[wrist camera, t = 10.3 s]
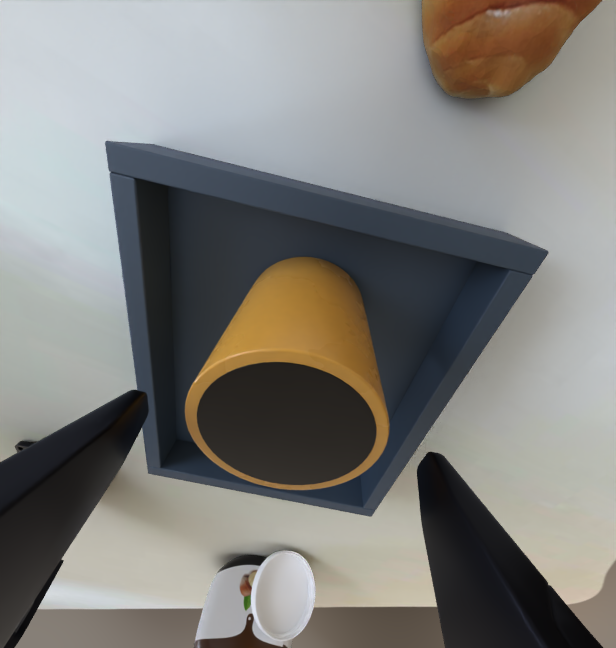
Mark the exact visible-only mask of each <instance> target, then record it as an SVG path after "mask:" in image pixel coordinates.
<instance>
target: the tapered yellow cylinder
mask: <svg viewBox="0 0 616 648" xmlns="http://www.w3.org/2000/svg"><path fill="white" fill-rule="evenodd" d="M185 418H186V423H187V427H188V430H189V432H190V434H191V436H192V438H193V440H194V441H195V443H196V444H197V446H198V447H199V448H200V449H201V451H202V452H203V453H204V454H205V455H206V456H207V457H208V458H209V459H210V460H212V461H213V462H214V463H216V464H217V465H218V466H220V467H221V468H223V469H224V470H226V471H228V472H229V473H231V474H233V475H235V476H237V477H239V478H242V479H244V480H247V481H249V482H253V483H256V484H259V485H263V486H267V487H272V488H278V489H287V490H313V489H321V488H327V487H331V486H335V485H338V484H341V483H344V482H347V481H349V480H351V479H353V478H355V477H357V476H359V475H360V474H362V473H364V472H365V471H366V470H368V469H369V468H370V467H371V466H372V465H373V464H374V463H375V462H376V461H377V460H378V459H379V457H380V456H381V454H382V453H383V451H384V449H385V447H386V444H387V441H388V437H389V428H390V424H389V417H388V412H387V407H386V403H385V398H384V394H383V389H382V385H381V380H380V376H379V371H378V366H377V362H376V357H375V353H374V348H373V344H372V339H371V335H370V330H369V326H368V321H367V317H366V312H365V308H364V303H363V299H362V296H361V293H360V290H359V288H358V286H357V285H356V283H355V282H354V280H353V279H352V278H351V277H350V276H349V275H348V274H347V273H346V272H345V271H344V270H342V269H341V268H340V267H338V266H336V265H335V264H333V263H330V262H328V261H326V260H322V259H319V258H313V257H293V258H289V259H285V260H282V261H280V262H277V263H275V264H274V265H272V266H270V267H269V268H267V269H266V270H265V271H264V272H263V273H262V274H261V275H260V276H259V277H258V279H257V280H256V281H255V283H254V284H253V286H252V288H251V289H250V291H249V293H248V294H247V296H246V297H245V299H244V301H243V302H242V304H241V306H240V307H239V309H238V311H237V312H236V314H235V315H234V317H233V319H232V320H231V322H230V324H229V325H228V327H227V328H226V330H225V332H224V333H223V335H222V337H221V338H220V340H219V342H218V343H217V345H216V346H215V348H214V350H213V351H212V353H211V355H210V356H209V358H208V359H207V361H206V363H205V364H204V366H203V368H202V369H201V371H200V373H199V374H198V376H197V377H196V379H195V381H194V382H193V384H192V386H191V388H190V390H189V392H188V395H187V398H186V403H185Z"/></svg>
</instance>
